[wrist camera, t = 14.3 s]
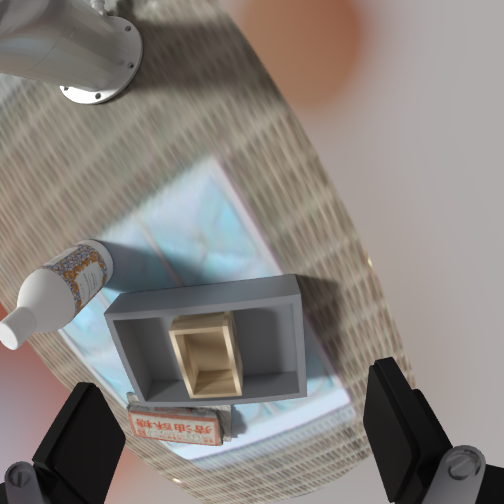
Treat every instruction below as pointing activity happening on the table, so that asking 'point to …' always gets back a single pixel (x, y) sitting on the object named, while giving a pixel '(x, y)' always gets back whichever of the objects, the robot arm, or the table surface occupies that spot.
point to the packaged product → (180, 423)
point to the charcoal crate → (247, 328)
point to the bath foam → (57, 292)
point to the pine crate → (208, 354)
